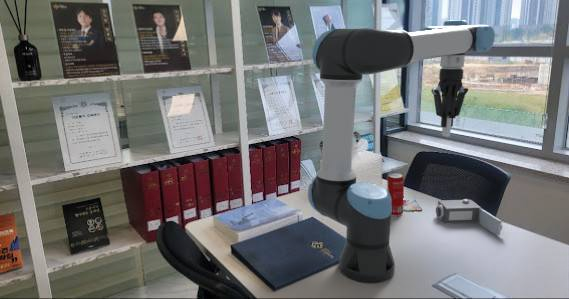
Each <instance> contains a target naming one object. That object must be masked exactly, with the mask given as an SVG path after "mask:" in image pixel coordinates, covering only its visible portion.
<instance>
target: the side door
mask: <svg viewBox="0 0 569 299" xmlns="http://www.w3.org/2000/svg"><path fill="white" fill-rule="evenodd" d="M502 222H503V221H502V220H501V219H499V218H498V217H496V216H494V215H493V214H491V213H490V212H488V211H487V210H485V209H483V208H482V207H481V208H479V217H478V222H477V224H480V225H481V226H482V227H485V228H486V229H487V230H489V231H490V232H492V233H493V234H495V235H496V236H501V231H502V230H503V224H502Z"/></svg>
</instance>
